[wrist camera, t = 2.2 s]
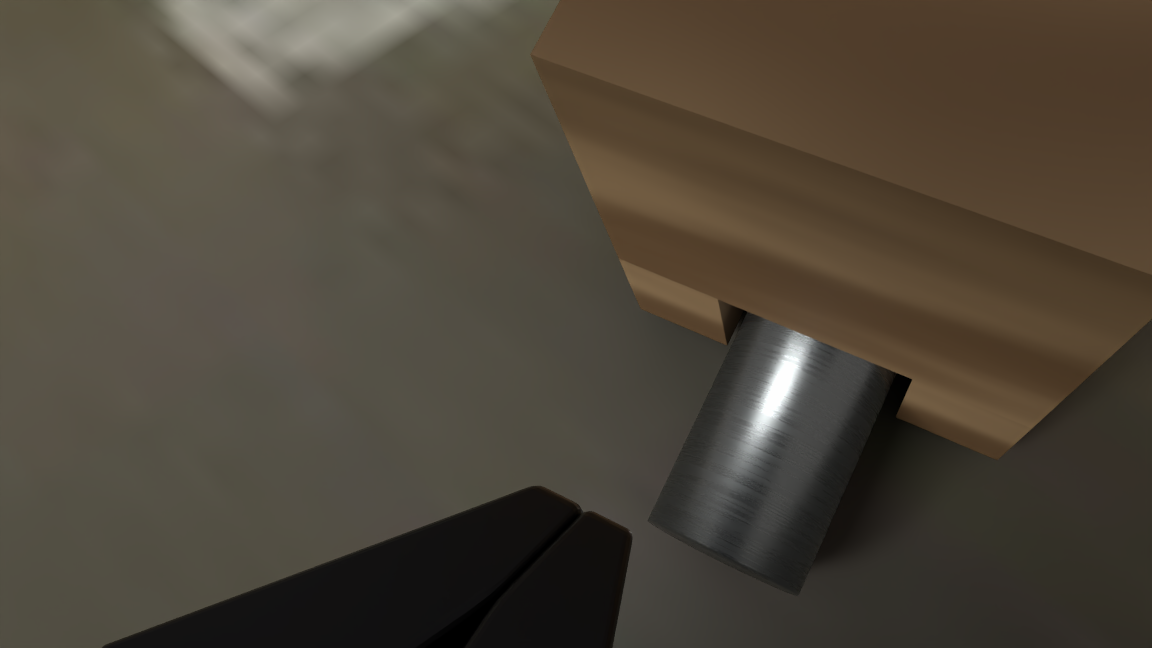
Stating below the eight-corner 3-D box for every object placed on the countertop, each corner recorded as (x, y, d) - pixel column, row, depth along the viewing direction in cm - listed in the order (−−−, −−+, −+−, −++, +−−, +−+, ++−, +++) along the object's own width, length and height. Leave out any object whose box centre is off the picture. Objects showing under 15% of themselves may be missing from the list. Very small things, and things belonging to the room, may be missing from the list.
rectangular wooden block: (997, 460, 20) (1186, 287, 10) (640, 308, 22) (529, 54, 13) (1072, 277, 20) (1313, -39, 11) (720, 149, 23) (671, -203, 13)
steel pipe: (802, 602, 20) (804, 593, 17) (654, 528, 21) (631, 508, 18) (1096, -66, 23) (1142, -173, 20) (954, -104, 24) (978, -211, 21)
